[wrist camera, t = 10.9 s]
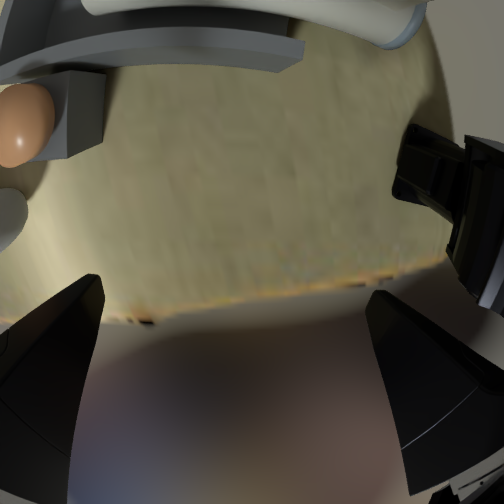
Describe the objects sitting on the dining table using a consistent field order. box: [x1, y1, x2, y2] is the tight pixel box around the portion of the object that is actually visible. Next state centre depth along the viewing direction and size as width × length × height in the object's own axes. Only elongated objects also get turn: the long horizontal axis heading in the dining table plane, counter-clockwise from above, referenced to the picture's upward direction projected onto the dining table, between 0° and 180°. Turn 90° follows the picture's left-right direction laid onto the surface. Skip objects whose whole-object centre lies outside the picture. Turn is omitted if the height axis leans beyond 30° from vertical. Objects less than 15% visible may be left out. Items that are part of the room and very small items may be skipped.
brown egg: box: [0, 83, 55, 168], centre depth 10 cm, size 4×4×6 cm
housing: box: [0, 0, 305, 163], centre depth 9 cm, size 18×18×6 cm
